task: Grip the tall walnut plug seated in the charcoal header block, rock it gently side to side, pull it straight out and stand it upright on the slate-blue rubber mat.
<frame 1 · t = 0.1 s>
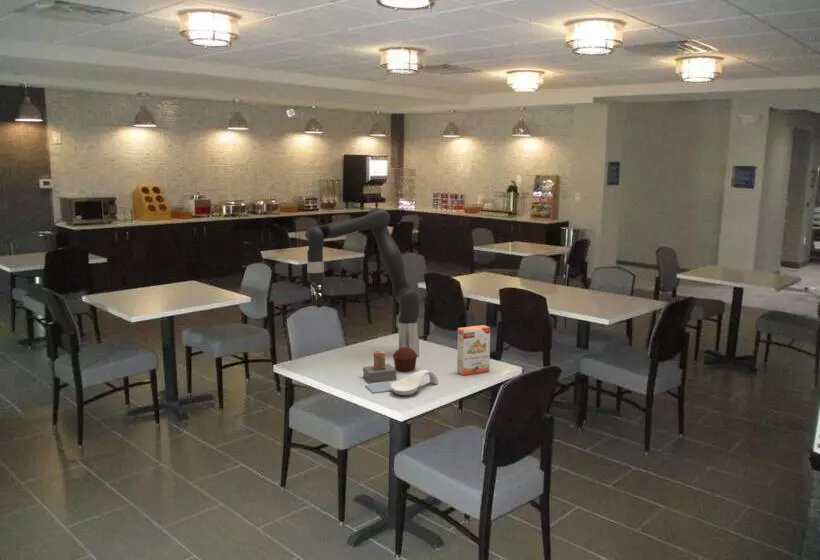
hand: (316, 305, 302), 29 cm above the table, tool pointing down, fingers open, 8 cm apart
spoon rest: (415, 390, 274), on the table
cracker box: (473, 372, 296), on the table
header block: (379, 378, 289), on the table
muffin: (405, 369, 301), on the table
rubber mat: (380, 388, 275), on the table
walnut plug: (379, 365, 288), in the header block
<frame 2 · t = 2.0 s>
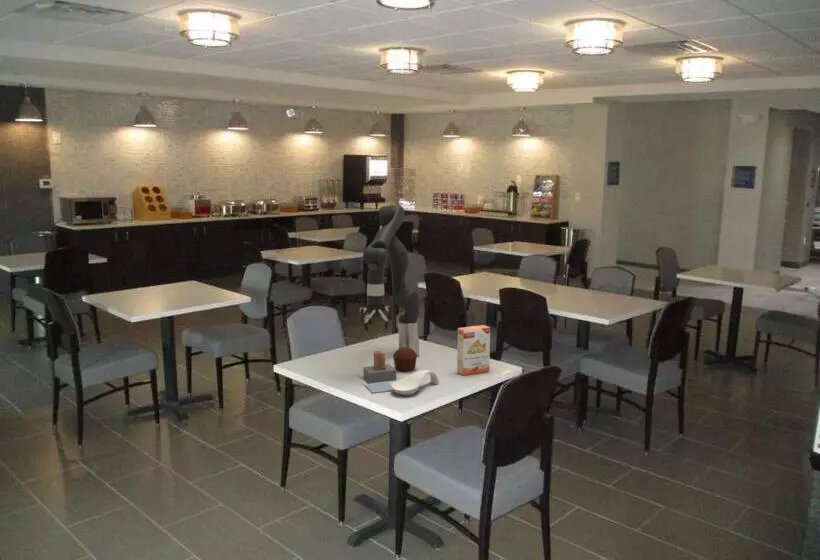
hand: (375, 330, 287), 21 cm above the table, tool pointing down, fingers open, 8 cm apart
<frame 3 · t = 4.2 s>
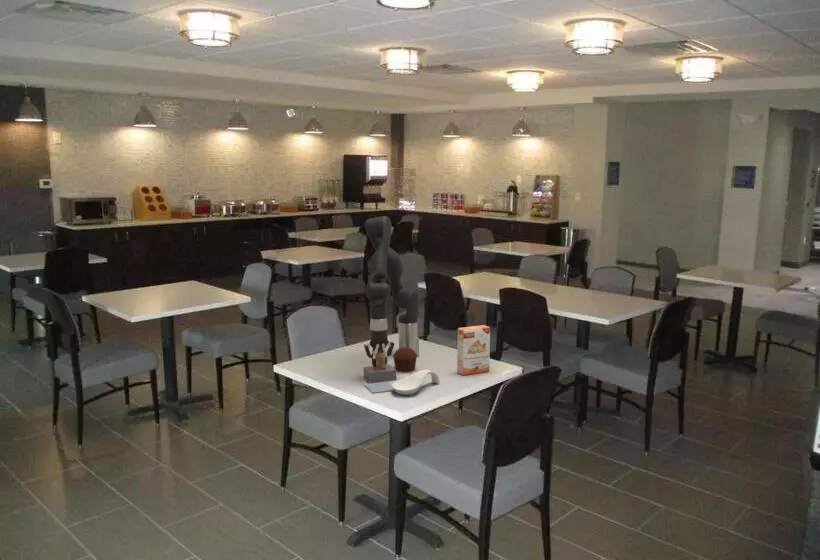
hand: (379, 365, 288), 6 cm above the table, tool pointing down, fingers closed on walnut plug, 4 cm apart
walnut plug: (379, 365, 288), in the header block, touching gripper
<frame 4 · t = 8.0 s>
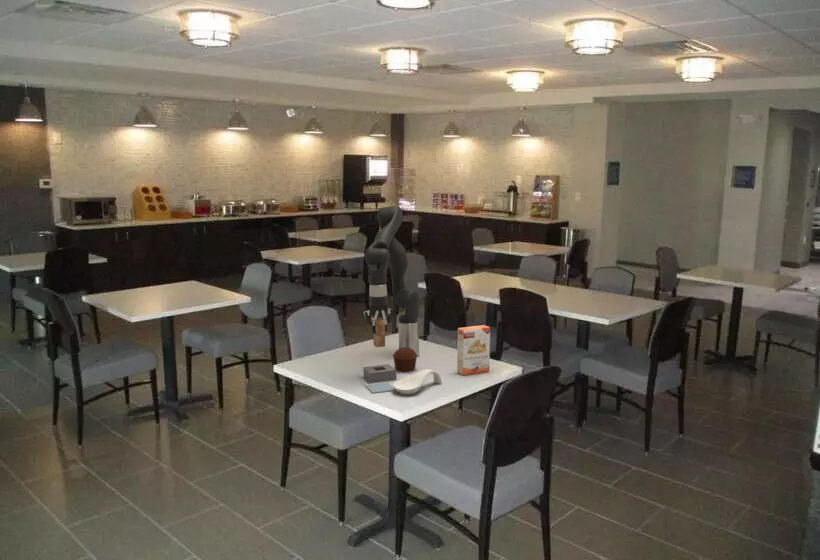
hand: (379, 332, 285), 21 cm above the table, tool pointing down, fingers closed on walnut plug, 4 cm apart
walnut plug: (379, 332, 285), point 21 cm above the table, touching gripper
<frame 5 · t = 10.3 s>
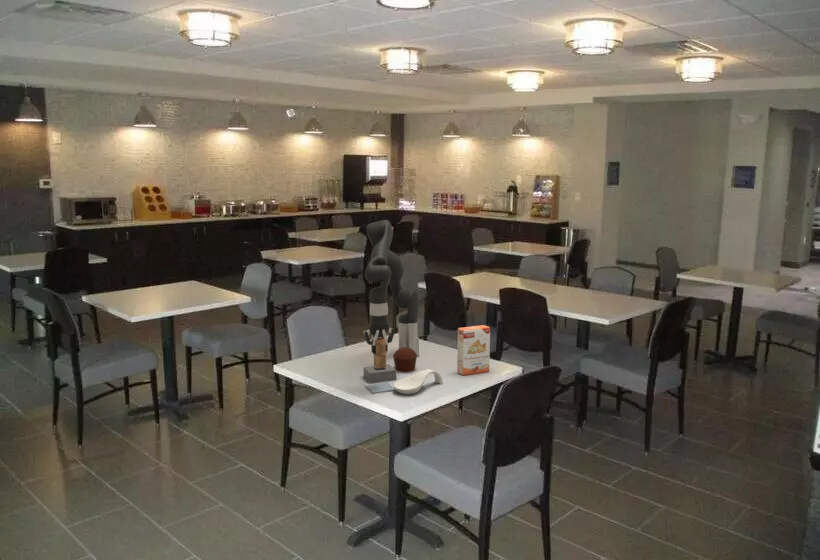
hand: (379, 353, 273), 15 cm above the table, tool pointing down, fingers closed on walnut plug, 4 cm apart
walnut plug: (379, 352, 273), point 16 cm above the table, touching gripper
when the fingers open (8 cm above the table, at t = 11.9 s): walnut plug drops 2 cm, resting on rubber mat.
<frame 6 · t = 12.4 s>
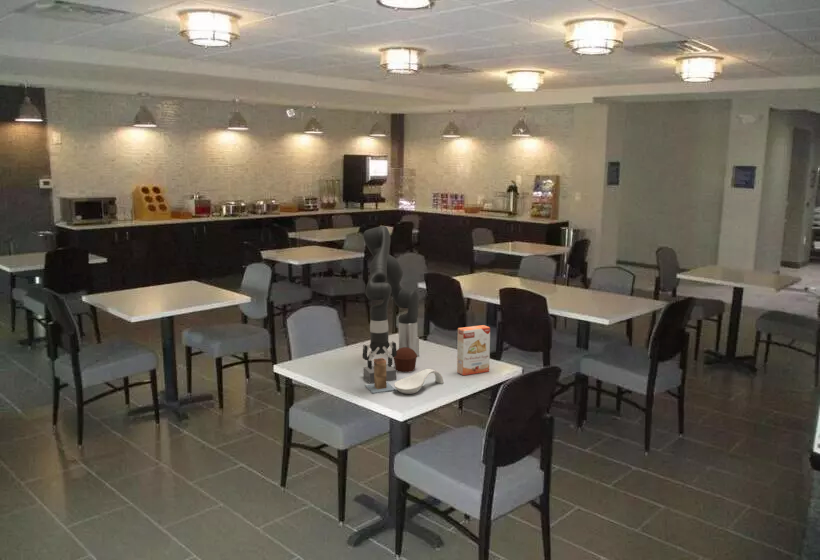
hand: (379, 367, 274), 9 cm above the table, tool pointing down, fingers open, 8 cm apart
walnut plug: (380, 373, 274), on the rubber mat
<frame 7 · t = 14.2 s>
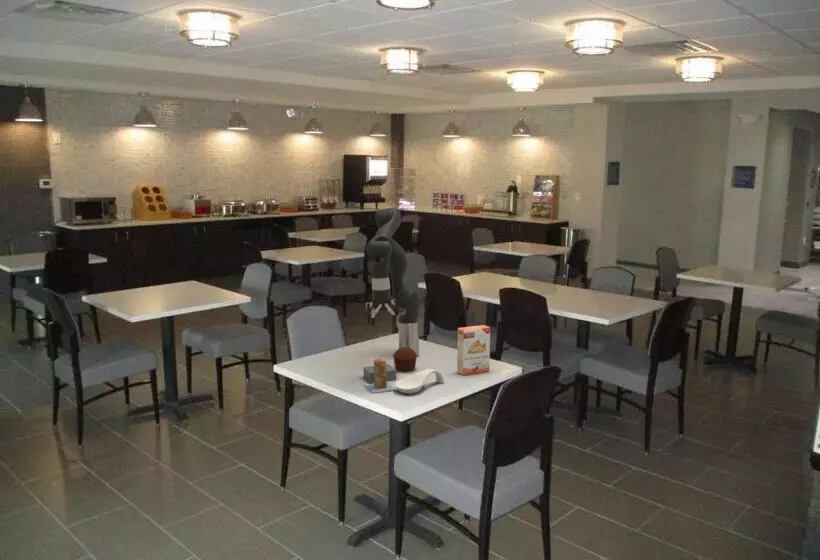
hand: (382, 324, 281), 25 cm above the table, tool pointing down, fingers open, 8 cm apart
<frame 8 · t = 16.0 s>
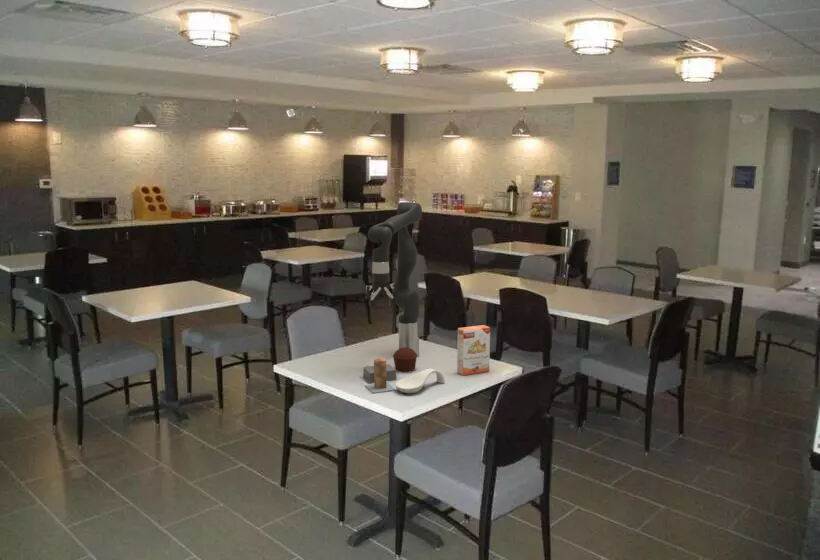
hand: (381, 307, 293), 30 cm above the table, tool pointing down, fingers open, 8 cm apart
at the end: walnut plug inside the target area on the rubber mat (0.1 cm from its centre), point 6.5 cm above the rubber mat's base; walnut plug tilted 0°; the gripper is holding nothing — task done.
